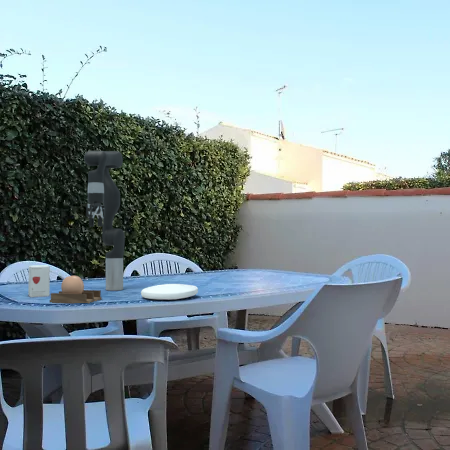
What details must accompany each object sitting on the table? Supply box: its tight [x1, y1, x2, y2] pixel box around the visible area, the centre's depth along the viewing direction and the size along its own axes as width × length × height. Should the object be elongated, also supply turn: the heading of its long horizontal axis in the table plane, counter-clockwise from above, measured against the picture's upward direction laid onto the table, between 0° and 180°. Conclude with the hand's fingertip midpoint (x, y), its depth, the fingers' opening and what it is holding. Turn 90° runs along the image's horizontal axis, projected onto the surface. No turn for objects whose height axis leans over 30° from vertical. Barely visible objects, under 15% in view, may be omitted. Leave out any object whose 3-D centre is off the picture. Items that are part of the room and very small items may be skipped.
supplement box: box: [27, 264, 51, 298], centre depth 239 cm, size 9×9×15 cm
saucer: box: [60, 275, 85, 294], centre depth 217 cm, size 3×10×11 cm, turn 76°
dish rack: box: [49, 289, 103, 304], centre depth 220 cm, size 14×18×4 cm
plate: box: [140, 283, 199, 301], centre depth 231 cm, size 28×6×27 cm
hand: (95, 226), depth 230 cm, fingers open, 8 cm apart
